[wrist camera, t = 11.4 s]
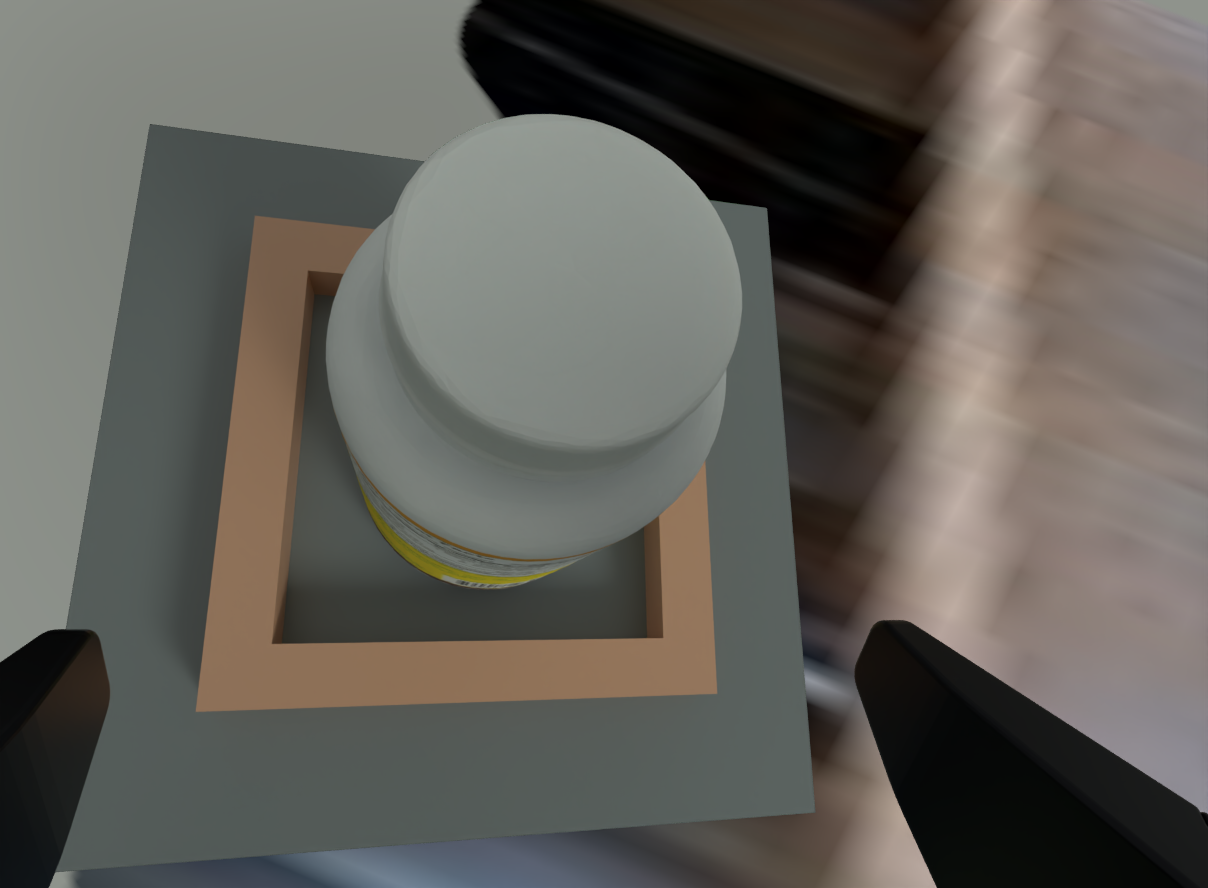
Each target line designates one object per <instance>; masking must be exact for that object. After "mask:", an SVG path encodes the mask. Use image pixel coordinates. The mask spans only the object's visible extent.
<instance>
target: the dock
mask: <svg viewBox="0 0 1208 888" xmlns="http://www.w3.org/2000/svg"><path fill="white" fill-rule="evenodd" d="M423 163H424V161H417V160H410V159H402V158H395V157H388V156H380V155H373V154H365V153H358V152H351V151H344V150H336V149H329V148H322V147H313V146H307V145H299V144H292V143H284V142H278V141H270V140H262V139H255V138H248V137H241V136H234V135H226V134H219V133H212V132H204V131H197V130H190V129H182V128H175V127H167V126H160V125H152V124H150V127H149V133H148V139H147V146H146V151H145V157H144V163H143V169H142V175H141V181H140V187H139V194H138V199H137V205H136V211H135V217H134V223H133V229H132V235H131V241H130V247H129V254H128V259H127V265H126V271H125V277H124V283H123V289H122V295H121V301H120V307H119V313H118V319H117V325H116V331H115V337H114V344H113V349H112V355H111V361H110V368H109V373H108V379H107V385H106V391H105V397H104V403H103V409H102V415H101V422H100V428H99V433H98V440H97V445H96V451H95V458H94V463H93V470H92V475H91V482H90V487H89V493H88V499H87V505H86V511H85V517H84V524H83V530H82V535H81V541H80V547H79V553H78V560H77V565H76V572H75V578H74V584H73V590H72V596H71V602H70V608H69V614H68V620H67V626H66V629H89V630H92V631H94V632H96V633H97V635H98V636H99V639H100V642H101V646H102V651H103V656H104V660H105V665H106V669H107V674H108V679H109V683H110V702H109V707H108V711H107V714H106V717H105V721H104V724H103V727H102V730H101V733H100V737H99V740H98V743H97V746H96V749H95V753H94V756H93V759H92V762H91V765H90V769H89V772H88V775H87V778H86V781H85V785H84V788H83V791H82V794H81V797H80V801H79V804H78V807H77V810H76V813H75V817H74V820H73V823H72V826H71V829H70V833H69V836H68V839H67V842H66V844H65V847H64V850H63V853H62V856H61V859H60V861H59V864H58V866H57V869H56V871H55V872H64V871H77V870H89V869H102V868H115V867H128V866H140V865H153V864H166V863H179V862H191V861H204V860H217V859H229V858H242V857H255V856H268V855H280V854H293V853H306V852H318V851H331V850H344V849H357V848H369V847H382V846H395V845H407V844H420V843H433V842H446V841H458V840H471V839H484V838H496V837H509V836H522V835H535V834H547V833H560V832H573V831H586V830H598V829H611V828H624V827H636V826H649V825H662V824H675V823H687V822H700V821H713V820H725V819H738V818H751V817H764V816H776V815H789V814H802V813H814V812H815V802H814V790H813V777H812V765H811V752H810V740H809V727H808V715H807V703H806V690H805V678H804V665H803V653H802V640H801V628H800V615H799V603H798V591H797V578H796V566H795V553H794V541H793V528H792V516H791V504H790V491H789V479H788V466H787V454H786V441H785V429H784V417H783V404H782V392H781V379H780V367H779V354H778V342H777V330H776V317H775V305H774V292H773V280H772V267H771V255H770V242H769V230H768V218H767V208H762V207H754V206H747V205H740V204H732V203H725V202H718V201H710V200H709V201H710V203H711V204H712V206H713V207H714V209H715V210H716V212H717V214H718V216H719V217H720V219H721V221H722V223H723V225H724V227H725V229H726V231H727V233H728V235H729V238H730V240H731V242H732V246H733V250H734V253H735V257H736V260H737V264H738V268H739V273H740V280H741V288H742V314H741V323H740V329H739V334H738V338H737V342H736V345H735V349H734V352H733V354H732V357H731V359H730V361H729V364H728V366H727V368H726V393H725V401H724V408H723V412H722V417H721V421H720V426H719V429H718V432H717V435H716V438H715V441H714V443H713V445H712V447H711V449H710V452H709V454H708V456H707V458H706V459H705V461H704V463H703V465H702V467H701V468H700V470H699V472H698V473H697V475H696V476H695V478H694V479H693V480H692V482H691V483H690V484H689V486H688V487H687V488H686V489H685V490H684V492H683V493H682V494H681V495H680V496H679V497H678V499H677V500H676V501H675V502H674V503H673V504H672V505H670V506H669V507H668V508H667V509H666V510H665V511H664V512H663V513H661V514H660V515H659V516H658V517H656V518H655V519H654V520H653V521H651V522H650V523H648V524H647V525H646V526H644V527H643V528H641V529H640V530H638V531H637V532H635V533H633V534H631V535H630V536H628V537H626V538H624V539H622V540H620V541H618V542H616V543H614V544H612V545H610V546H608V547H606V548H604V549H602V550H600V551H597V552H595V553H593V554H591V555H589V556H586V557H584V558H582V559H580V560H578V561H576V562H574V563H572V564H570V565H568V566H566V567H564V568H561V569H559V570H557V571H555V572H553V573H550V574H548V575H546V576H543V577H541V578H539V579H536V580H534V581H532V582H529V583H525V584H522V585H518V586H514V587H510V588H505V589H495V590H478V589H468V588H463V587H458V586H452V585H450V584H447V583H443V582H441V581H438V580H436V579H434V578H432V577H430V576H428V575H426V574H424V573H422V572H420V571H418V570H417V569H416V568H414V567H413V566H412V565H410V564H409V563H407V562H406V561H405V560H404V559H403V558H401V557H400V556H399V555H398V554H397V553H396V552H395V551H394V550H393V549H392V547H391V546H390V545H389V544H388V543H387V541H386V540H385V539H384V538H383V536H382V535H381V533H380V532H379V530H378V529H377V527H376V525H375V523H374V521H373V519H372V517H371V515H370V513H369V511H368V508H367V505H366V502H365V499H364V496H363V493H362V490H361V487H360V485H359V482H358V479H357V475H356V472H355V469H354V466H353V463H352V461H351V458H350V455H349V452H348V449H347V446H346V444H345V441H344V438H343V436H342V432H341V429H340V427H339V424H338V421H337V418H336V415H335V412H334V409H333V404H332V399H331V395H330V390H329V385H328V376H327V366H326V338H327V330H328V323H329V318H330V314H331V309H332V305H333V301H334V299H335V296H336V293H337V290H338V288H339V285H340V282H341V279H342V277H343V275H344V273H345V271H346V269H347V267H348V265H349V264H350V262H351V260H352V259H353V257H354V255H355V254H356V252H357V251H358V249H359V248H360V247H361V246H362V244H363V243H364V242H365V241H366V239H367V238H368V237H369V236H370V235H371V234H372V232H373V231H374V230H375V229H376V228H377V227H378V226H379V225H380V224H381V223H382V222H383V221H384V220H386V219H387V218H388V217H389V216H390V215H392V214H393V212H394V209H395V207H396V204H397V202H398V200H399V198H400V196H401V194H402V192H403V190H404V188H405V186H406V185H407V183H408V182H409V181H410V180H411V178H412V177H413V176H414V174H415V173H416V172H417V170H418V169H419V167H420V166H421V165H422V164H423Z"/></svg>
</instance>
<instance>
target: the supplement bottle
mask: <svg viewBox="0 0 1208 888" xmlns="http://www.w3.org/2000/svg"><path fill="white" fill-rule="evenodd" d="M741 314H742V288H741V280H740V273H739V268H738V264H737V260H736V257H735V253H734V250H733V246H732V242H731V240H730V238H729V235H728V233H727V231H726V229H725V227H724V225H723V223H722V221H721V219H720V217H719V216H718V214H717V212H716V210H715V209H714V207H713V206H712V204H711V203H710V201H709V200H708V199H707V197H706V196H705V195H704V194H703V192H702V191H701V190H700V188H699V187H698V186H697V185H696V183H695V182H694V181H693V180H692V179H691V178H690V177H688V176H687V175H686V174H685V173H684V172H683V171H682V170H681V169H680V168H679V167H678V166H677V165H676V164H675V163H674V162H673V161H672V160H670V159H669V158H668V157H666V156H665V155H664V154H662V153H661V152H659V151H658V150H656V149H655V148H653V147H652V146H650V145H648V144H647V143H645V142H643V141H642V140H640V139H638V138H636V137H634V136H632V135H630V134H628V133H626V132H624V131H622V130H620V129H617V128H614V127H612V126H609V125H606V124H603V123H600V122H597V121H593V120H588V119H583V118H579V117H573V116H565V115H554V114H532V115H520V116H514V117H508V118H503V119H500V120H496V121H492V122H488V123H485V124H483V125H480V126H478V127H476V128H473V129H471V130H469V131H467V132H465V133H463V134H461V135H459V136H457V137H455V138H453V139H452V140H450V141H449V142H448V143H447V144H445V145H443V146H442V147H441V148H439V149H438V150H437V151H435V152H434V153H433V154H432V155H431V156H430V157H429V158H428V159H427V160H426V161H425V162H424V163H423V164H422V165H421V166H420V167H419V169H418V170H417V172H416V173H415V174H414V176H413V177H412V178H411V180H410V181H409V182H408V183H407V185H406V186H405V188H404V190H403V192H402V194H401V196H400V198H399V200H398V202H397V204H396V207H395V209H394V212H393V214H392V215H390V216H389V217H388V218H387V219H386V220H384V221H383V222H382V223H381V224H380V225H379V226H378V227H377V228H376V229H375V230H374V231H373V232H372V234H371V235H370V236H369V237H368V238H367V239H366V241H365V242H364V243H363V244H362V246H361V247H360V248H359V249H358V251H357V252H356V254H355V255H354V257H353V259H352V260H351V262H350V264H349V265H348V267H347V269H346V271H345V273H344V275H343V277H342V279H341V282H340V285H339V288H338V290H337V293H336V296H335V299H334V301H333V305H332V309H331V314H330V318H329V323H328V330H327V338H326V366H327V376H328V385H329V390H330V395H331V399H332V404H333V409H334V412H335V415H336V418H337V421H338V424H339V427H340V429H341V432H342V436H343V438H344V441H345V444H346V446H347V449H348V452H349V455H350V458H351V461H352V463H353V466H354V469H355V472H356V475H357V479H358V482H359V485H360V487H361V490H362V493H363V496H364V499H365V502H366V505H367V508H368V511H369V513H370V515H371V517H372V519H373V521H374V523H375V525H376V527H377V529H378V530H379V532H380V533H381V535H382V536H383V538H384V539H385V540H386V541H387V543H388V544H389V545H390V546H391V547H392V549H393V550H394V551H395V552H396V553H397V554H398V555H399V556H400V557H401V558H403V559H404V560H405V561H406V562H407V563H409V564H410V565H412V566H413V567H414V568H416V569H417V570H418V571H420V572H422V573H424V574H426V575H428V576H430V577H432V578H434V579H436V580H438V581H441V582H443V583H447V584H450V585H452V586H458V587H463V588H468V589H478V590H495V589H505V588H510V587H514V586H518V585H522V584H525V583H529V582H532V581H534V580H536V579H539V578H541V577H543V576H546V575H548V574H550V573H553V572H555V571H557V570H559V569H561V568H564V567H566V566H568V565H570V564H572V563H574V562H576V561H578V560H580V559H582V558H584V557H586V556H589V555H591V554H593V553H595V552H597V551H600V550H602V549H604V548H606V547H608V546H610V545H612V544H614V543H616V542H618V541H620V540H622V539H624V538H626V537H628V536H630V535H631V534H633V533H635V532H637V531H638V530H640V529H641V528H643V527H644V526H646V525H647V524H648V523H650V522H651V521H653V520H654V519H655V518H656V517H658V516H659V515H660V514H661V513H663V512H664V511H665V510H666V509H667V508H668V507H669V506H670V505H672V504H673V503H674V502H675V501H676V500H677V499H678V497H679V496H680V495H681V494H682V493H683V492H684V490H685V489H686V488H687V487H688V486H689V484H690V483H691V482H692V480H693V479H694V478H695V476H696V475H697V473H698V472H699V470H700V468H701V467H702V465H703V463H704V461H705V459H706V458H707V456H708V454H709V452H710V449H711V447H712V445H713V443H714V441H715V438H716V435H717V432H718V429H719V426H720V421H721V417H722V412H723V408H724V401H725V393H726V368H727V366H728V364H729V361H730V359H731V357H732V354H733V352H734V349H735V345H736V342H737V338H738V334H739V329H740V323H741Z"/></svg>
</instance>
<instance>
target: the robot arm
mask: <svg viewBox="0 0 1208 888" xmlns="http://www.w3.org/2000/svg"><path fill="white" fill-rule="evenodd" d="M855 683H856V686H857V689H858V692H859V695H860V698H861V701H862V704H863V707H864V709H865V712H866V715H867V718H868V721H869V724H870V727H871V729H872V732H873V735H874V738H875V741H876V744H877V747H878V750H879V752H880V755H881V758H882V761H883V764H884V767H885V770H886V772H887V775H888V778H889V781H890V783H891V786H892V789H893V791H894V794H895V796H896V799H897V801H898V803H899V806H900V808H901V810H902V813H903V815H904V817H905V819H906V821H907V824H908V826H909V828H910V830H911V832H912V834H913V837H914V839H915V841H916V843H917V845H918V848H919V850H920V852H921V854H922V856H923V858H924V861H925V863H926V865H927V867H928V869H929V872H930V874H931V876H932V878H933V880H934V882H935V885H936V887H937V888H1208V814H1207V813H1205V812H1200V811H1199V809H1198V808H1197V807H1196V806H1194V805H1193V804H1191V803H1190V802H1188V801H1187V800H1185V799H1184V798H1182V797H1180V796H1179V795H1177V794H1176V793H1174V792H1173V791H1171V790H1170V789H1168V788H1166V787H1165V786H1163V785H1162V784H1160V783H1159V782H1157V781H1156V780H1154V779H1153V778H1151V777H1149V776H1148V775H1146V774H1145V773H1143V772H1142V771H1140V770H1139V769H1137V768H1135V767H1134V766H1132V765H1131V764H1129V763H1128V762H1126V761H1125V760H1123V759H1122V758H1120V757H1118V756H1117V755H1115V754H1114V753H1112V752H1111V751H1109V750H1108V749H1106V748H1104V747H1103V746H1101V745H1100V744H1098V743H1097V742H1095V741H1094V740H1092V739H1091V738H1089V737H1087V736H1086V735H1084V734H1083V733H1081V732H1080V731H1078V730H1077V729H1075V728H1073V727H1072V726H1070V725H1069V724H1067V723H1066V722H1064V721H1063V720H1061V719H1060V718H1058V717H1056V716H1055V715H1053V714H1052V713H1050V712H1049V711H1047V710H1046V709H1044V708H1042V707H1041V706H1039V705H1038V704H1036V703H1035V702H1033V701H1032V700H1030V699H1029V698H1027V697H1025V696H1024V695H1022V694H1021V693H1019V692H1018V691H1016V690H1015V689H1013V688H1012V687H1010V686H1008V685H1007V684H1005V683H1004V682H1002V681H1001V680H999V679H998V678H996V677H994V676H993V675H991V674H990V673H988V672H987V671H985V670H984V669H982V668H981V667H979V666H977V665H976V664H974V663H973V662H971V661H970V660H968V659H967V658H965V657H964V656H962V655H960V654H959V653H957V652H956V651H954V650H953V649H951V648H950V647H948V646H946V645H945V644H943V643H942V642H940V641H939V640H937V639H936V638H934V637H933V636H931V635H929V634H928V633H926V632H925V631H923V630H922V629H920V628H919V627H917V626H916V625H914V624H912V623H911V622H908V621H904V620H883V621H879V622H877V623H876V624H875V625H873V627H872V628H871V630H870V633H869V635H868V637H867V640H866V642H865V644H864V646H863V649H862V651H861V653H860V656H859V658H858V660H857V662H856V665H855ZM109 702H110V683H109V679H108V674H107V669H106V665H105V660H104V656H103V651H102V646H101V642H100V639H99V636H98V635H97V633H96V632H94V631H92V630H89V629H58V630H50V631H47V632H45V633H43V634H41V635H39V636H38V637H36V638H35V639H33V640H32V641H31V642H29V643H28V644H26V645H25V646H24V647H22V648H20V649H19V650H18V651H16V652H15V653H13V654H12V655H10V656H9V657H7V658H6V659H4V660H3V661H2V662H0V888H49V886H50V883H51V881H52V879H53V876H54V874H55V871H56V869H57V866H58V864H59V861H60V859H61V856H62V853H63V850H64V847H65V844H66V842H67V839H68V836H69V833H70V829H71V826H72V823H73V820H74V817H75V813H76V810H77V807H78V804H79V801H80V797H81V794H82V791H83V788H84V785H85V781H86V778H87V775H88V772H89V769H90V765H91V762H92V759H93V756H94V753H95V749H96V746H97V743H98V740H99V737H100V733H101V730H102V727H103V724H104V721H105V717H106V714H107V711H108V707H109Z"/></svg>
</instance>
